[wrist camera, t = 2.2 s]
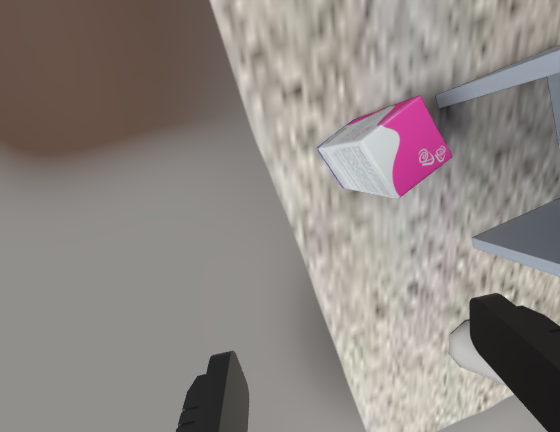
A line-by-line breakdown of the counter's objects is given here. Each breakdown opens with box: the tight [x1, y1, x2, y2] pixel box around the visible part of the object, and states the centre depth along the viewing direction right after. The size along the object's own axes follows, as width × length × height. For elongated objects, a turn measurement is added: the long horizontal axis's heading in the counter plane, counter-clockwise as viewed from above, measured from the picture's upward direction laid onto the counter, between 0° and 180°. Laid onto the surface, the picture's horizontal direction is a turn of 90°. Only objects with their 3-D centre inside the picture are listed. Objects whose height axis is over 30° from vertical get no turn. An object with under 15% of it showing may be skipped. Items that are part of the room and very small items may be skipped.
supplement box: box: [317, 96, 452, 199], centre depth 27 cm, size 6×6×12 cm
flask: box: [449, 321, 508, 387], centre depth 34 cm, size 7×7×10 cm
